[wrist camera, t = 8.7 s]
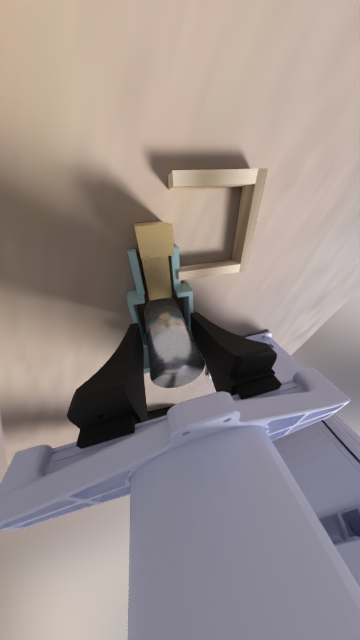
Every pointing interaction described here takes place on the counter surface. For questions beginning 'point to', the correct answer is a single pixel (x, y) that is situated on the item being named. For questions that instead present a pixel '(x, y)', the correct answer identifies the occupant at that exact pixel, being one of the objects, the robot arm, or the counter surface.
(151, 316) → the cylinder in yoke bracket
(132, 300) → the socket
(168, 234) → the tan wooden stepped block
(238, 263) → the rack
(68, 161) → the counter surface
